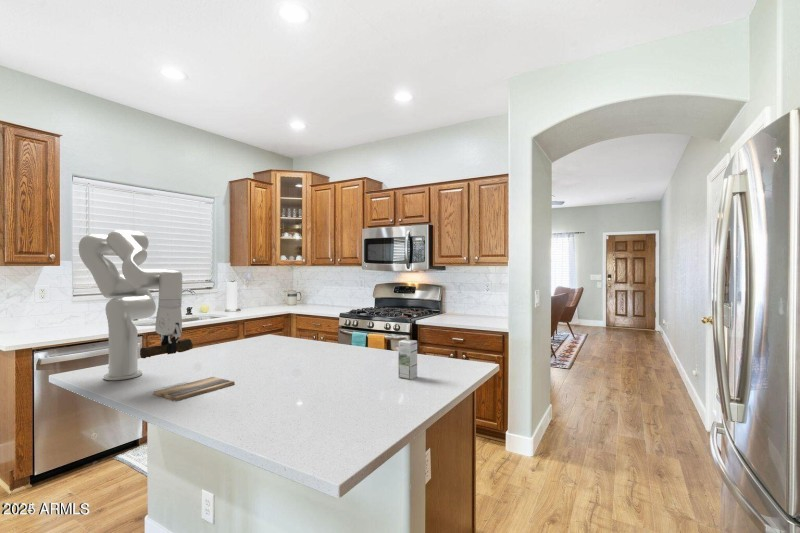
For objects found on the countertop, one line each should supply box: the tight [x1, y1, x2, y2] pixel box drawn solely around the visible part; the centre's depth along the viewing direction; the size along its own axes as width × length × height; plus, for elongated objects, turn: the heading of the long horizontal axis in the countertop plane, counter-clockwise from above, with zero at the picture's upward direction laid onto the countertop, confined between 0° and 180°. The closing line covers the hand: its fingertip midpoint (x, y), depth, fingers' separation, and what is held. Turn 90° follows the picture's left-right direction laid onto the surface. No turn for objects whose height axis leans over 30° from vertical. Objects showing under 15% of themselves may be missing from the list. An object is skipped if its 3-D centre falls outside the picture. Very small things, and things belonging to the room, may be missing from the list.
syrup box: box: [397, 339, 418, 380], centre depth 161 cm, size 6×6×14 cm
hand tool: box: [139, 338, 194, 359], centre depth 152 cm, size 19×4×5 cm, turn 148°
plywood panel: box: [153, 376, 235, 402], centre depth 145 cm, size 13×22×1 cm, turn 149°
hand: (168, 352), depth 152 cm, fingers closed on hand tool, 3 cm apart
